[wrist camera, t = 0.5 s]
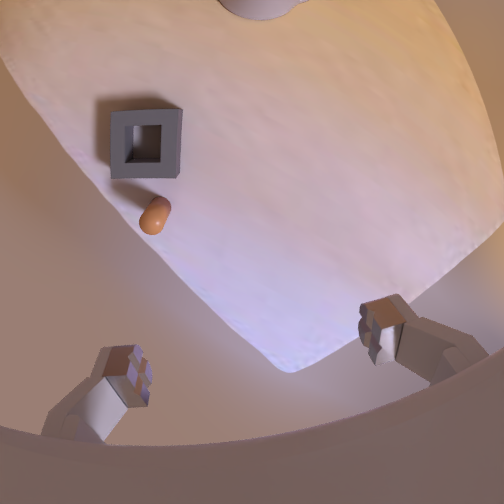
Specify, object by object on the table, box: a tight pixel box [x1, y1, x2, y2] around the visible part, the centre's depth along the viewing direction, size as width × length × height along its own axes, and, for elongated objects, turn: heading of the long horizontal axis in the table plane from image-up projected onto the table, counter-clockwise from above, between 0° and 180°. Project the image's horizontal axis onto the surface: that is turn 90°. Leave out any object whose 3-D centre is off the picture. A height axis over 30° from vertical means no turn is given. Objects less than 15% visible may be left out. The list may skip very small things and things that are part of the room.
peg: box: [139, 197, 171, 235], centre depth 48 cm, size 4×4×8 cm
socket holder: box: [110, 109, 183, 179], centre depth 44 cm, size 11×11×5 cm
